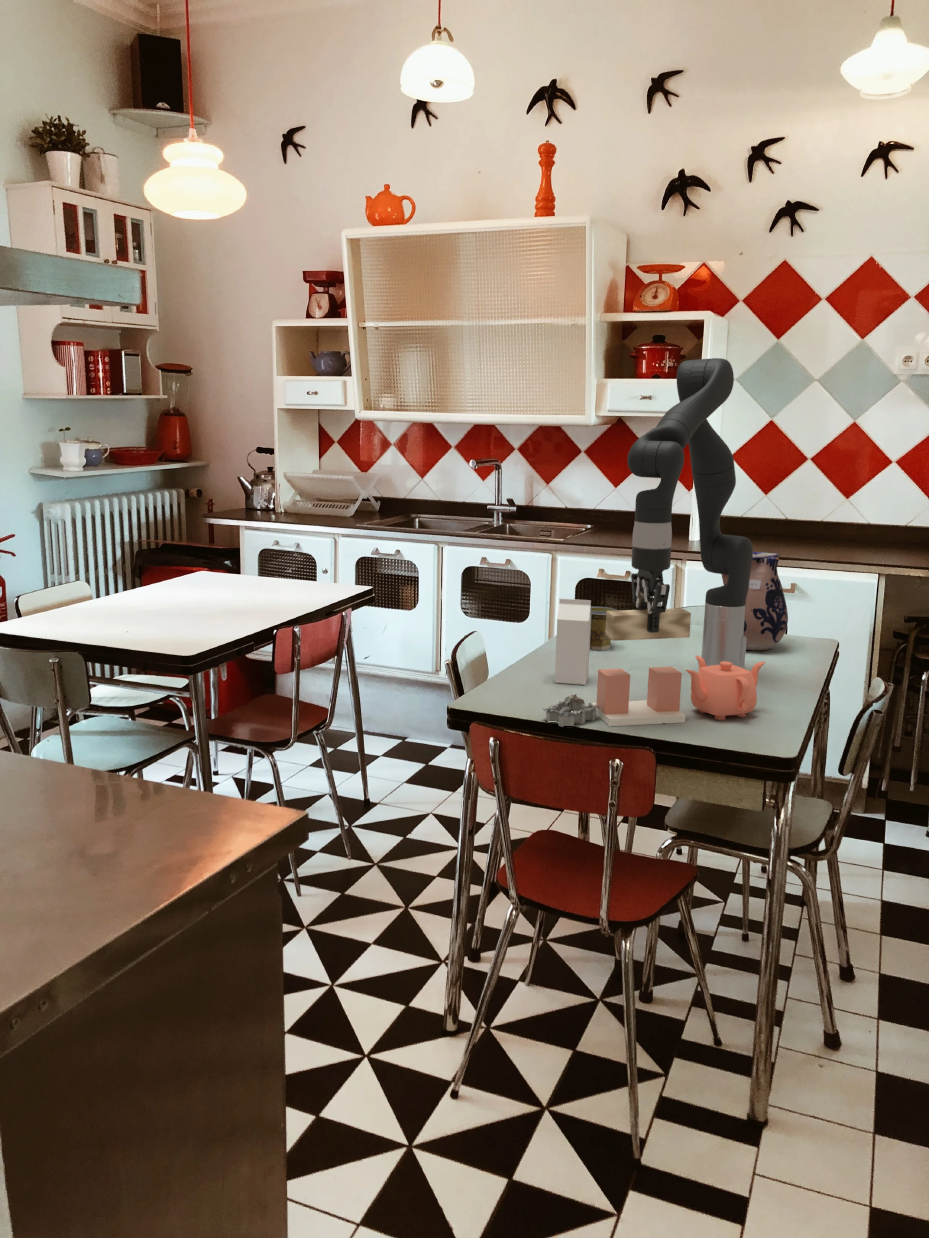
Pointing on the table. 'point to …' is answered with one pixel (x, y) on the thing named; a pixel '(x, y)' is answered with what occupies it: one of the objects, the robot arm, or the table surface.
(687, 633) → the oak beam
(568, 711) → the egg carton
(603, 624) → the ceramic cup
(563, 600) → the milk carton
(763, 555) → the ceramic pitcher
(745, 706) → the teapot
